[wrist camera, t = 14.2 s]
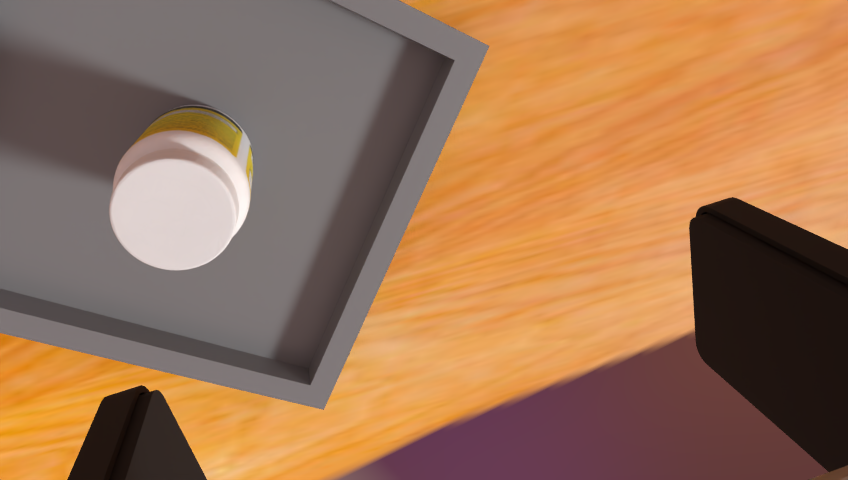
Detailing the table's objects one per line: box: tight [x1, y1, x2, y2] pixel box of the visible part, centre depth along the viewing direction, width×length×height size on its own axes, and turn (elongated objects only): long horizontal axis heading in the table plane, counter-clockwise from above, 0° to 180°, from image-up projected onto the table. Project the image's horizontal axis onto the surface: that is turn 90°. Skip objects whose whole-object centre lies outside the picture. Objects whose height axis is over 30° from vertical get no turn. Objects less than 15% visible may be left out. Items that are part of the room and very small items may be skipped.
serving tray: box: [0, 0, 489, 410], centre depth 28 cm, size 20×20×2 cm
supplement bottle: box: [109, 105, 254, 270], centre depth 24 cm, size 5×5×8 cm
